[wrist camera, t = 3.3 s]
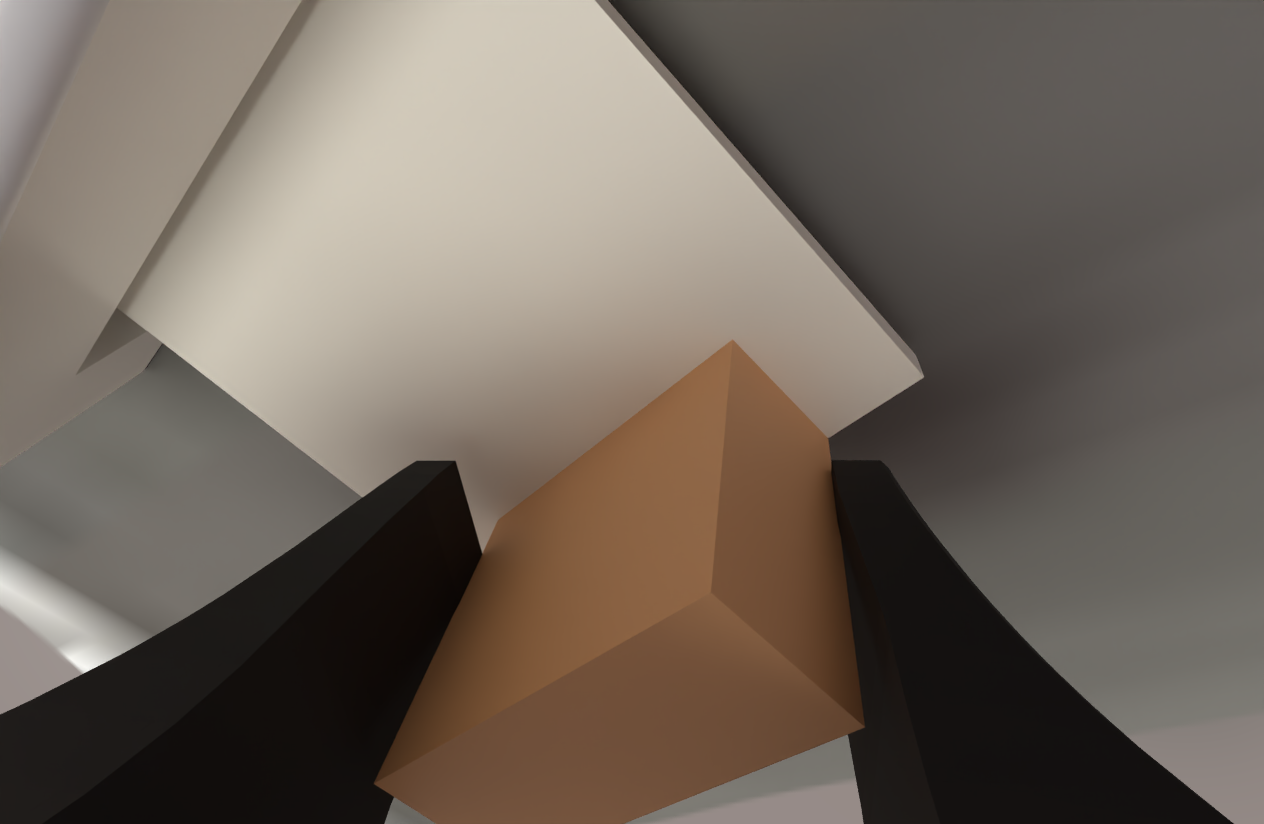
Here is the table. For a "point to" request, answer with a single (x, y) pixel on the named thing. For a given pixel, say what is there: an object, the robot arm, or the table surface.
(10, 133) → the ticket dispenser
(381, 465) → the cream slab with block
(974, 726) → the robot arm
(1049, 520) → the table surface
